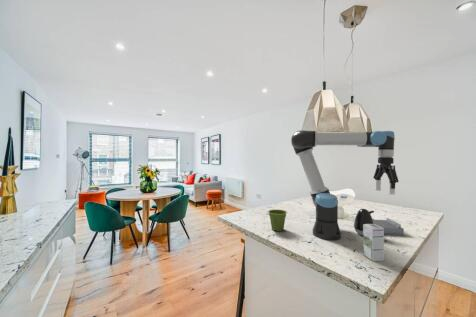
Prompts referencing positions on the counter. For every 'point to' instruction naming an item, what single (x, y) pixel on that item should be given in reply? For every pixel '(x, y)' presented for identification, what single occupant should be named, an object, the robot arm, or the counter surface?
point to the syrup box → (373, 242)
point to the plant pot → (277, 219)
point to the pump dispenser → (362, 220)
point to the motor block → (390, 227)
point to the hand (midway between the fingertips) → (384, 192)
